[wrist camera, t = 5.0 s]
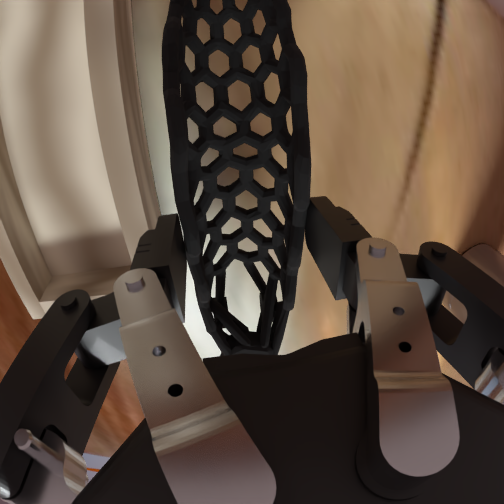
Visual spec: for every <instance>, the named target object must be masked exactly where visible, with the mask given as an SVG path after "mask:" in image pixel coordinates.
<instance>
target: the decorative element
mask: <svg viewBox="0 0 504 504" xmlns="http://www.w3.org/2000/svg"><path fill="white" fill-rule="evenodd" d="M222 4H223V10H222V11H220V12H219V13H218V14H216V13H215V12H214V11H213V10H212V9H211V8H210V0H197V6H196V8H194V6H193V3H192V0H170V5H169V11H168V16H167V21H166V23H165V27H164V32H163V41H162V67H163V95H164V101H165V109H166V117H167V125H168V133H169V140H170V163H171V173H172V181H173V189H174V196H175V203H176V207H177V211H178V214H179V218H180V222H181V225H182V229H183V234H184V245H185V250H186V257H187V262H188V265H189V268H190V271H191V274H192V277H193V280H194V284H195V291H196V297H197V301H198V305H199V309H200V312H201V315H202V318H203V321H204V324H205V326H206V330H207V332H208V333H209V334H210V335H211V336H212V337H213V339H214V341H215V342H216V344H217V346H218V347H219V349H220V350H221V355H220V356H227V355H235V354H242V353H243V354H263V355H278V352H279V349H280V346H281V343H282V340H283V336H284V332H285V328H286V324H287V319H288V315H289V311H290V310H292V309H293V308H294V303H295V295H296V285H297V275H298V268H299V267H300V264H301V257H302V250H303V242H304V233H305V222H306V216H307V208H308V206H309V204H310V183H311V152H310V137H309V122H308V109H307V71H306V65H305V59H304V56H303V54H302V52H301V50H300V49H299V48H298V46H297V45H296V41H295V38H294V34H293V30H292V22H291V9H290V6H289V4H288V2H287V0H248V2H247V4H246V6H245V8H244V10H243V11H242V10H239V9H238V8H237V7H236V5H235V0H222ZM257 10H261V11H262V13H263V16H264V19H265V22H266V25H265V27H264V29H263V32H262V34H261V35H259V34H256V33H255V31H254V26H253V21H252V20H253V18H254V16H255V14H256V12H257ZM182 17H183V28H182V25H181V18H182ZM200 18H203V19H204V20H205V21H206V22H207V23H208V24H209V26H210V40H209V41H207V42H206V43H205V44H203V43H202V42H201V40H200V39H199V37H198V36H197V35H196V34H197V20H199V19H200ZM231 18H232V19H234V20H235V21H237V22H239V23H240V27H241V34H242V36H241V37H240V38H239V39H238V40H237V41H236V42H235V43H234V45H233V44H232V43H230V42H229V41H227V40H226V39H224V29H223V25H224V24H225V23H226V22H227V21H228V20H229V19H231ZM277 33H278V35H279V39H280V43H281V47H282V51H281V54H280V58H279V61H278V60H276V59H275V54H274V50H273V43H274V41H275V38H276V36H277ZM186 45H187V46H188V47H189V48H190V50H191V51H192V52H193V53H194V54H195V70H194V71H192V72H190V70H189V68H188V67H187V65H186V63H185V46H186ZM249 45H253V46H255V47H257V48H259V52H260V56H261V61H262V62H261V64H260V65H259V66H258V68H257V69H256V70H255V72H254V73H252V72H250V71H249V70H247V69H245V68H243V60H242V54H243V52H244V51H245V50H246V49H247V48H248V46H249ZM216 50H220V51H222V52H223V53H225V54H226V55H227V56H228V57H229V69H230V70H228V71H227V72H226V73H225V74H223V75H222V76H221V77H219V76H217V75H216V74H214V73H213V72H212V71H210V69H209V55H210V54H212V53H213V52H214V51H216ZM271 72H273V73H275V74H277V75H278V79H279V85H280V90H281V91H280V94H279V96H278V99H277V101H276V103H275V104H273V103H271V102H269V101H268V100H267V99H266V97H265V90H264V84H263V83H264V82H265V80H266V79H267V78H268V76H269V75H270V73H271ZM236 80H240V81H242V82H244V83H246V84H248V85H249V87H250V92H251V100H252V101H251V102H250V103H249V104H248V105H247V106H246V107H245V108H244V109H243V111H240V110H238V109H237V108H235V107H234V106H232V105H230V104H229V98H228V87H229V86H230V85H231V84H233V83H234V82H235V81H236ZM200 82H204V83H206V84H207V85H209V86H210V87H211V88H213V92H214V106H213V107H212V108H210V109H209V110H208V111H207V112H205V111H204V110H203V109H202V108H201V107H200V106H199V105H198V104H197V100H196V91H195V86H196V85H198V84H199V83H200ZM180 84H181V96H180ZM290 106H291V112H292V125H293V132H292V136H291V135H290V134H289V132H288V129H287V122H286V114H287V112H288V110H289V108H290ZM259 113H263V114H264V115H266V116H268V117H270V118H271V125H272V131H271V132H269V133H268V134H266V135H264V136H261V135H259V134H257V133H255V132H253V131H251V126H250V122H251V121H252V120H253V119H254V118H255V117H256V116H257V115H258V114H259ZM222 116H223V117H225V118H227V119H228V120H230V121H232V122H233V123H235V124H236V129H237V132H235V133H233V134H231V135H229V136H228V137H226V138H224V137H221V136H218V135H215V134H214V130H213V124H215V123H216V122H217V121H218V120H219V119H220V118H221V117H222ZM188 117H190V118H191V119H192V120H193V121H194V122H195V123H196V124H197V125H198V129H199V138H198V139H197V140H196V141H195V142H194V143H193V144H192V143H191V142H190V141H189V140H188V128H187V119H188ZM243 143H246V144H248V145H250V146H252V147H254V148H256V149H257V153H258V154H257V155H253V156H250V157H247V158H245V157H242V156H239V155H235V154H233V149H234V148H236V147H238V146H239V145H241V144H243ZM277 144H279V145H280V146H281V148H282V149H283V150H284V151H285V152H286V154H287V168H285V169H284V168H283V167H282V166H281V165H280V164H279V163H278V162H277V161H276V160H275V159H274V158H273V156H272V152H271V148H273V147H274V146H276V145H277ZM209 147H210V148H212V149H215V150H218V151H219V156H218V157H217V158H216V159H215V160H214V161H212V162H211V163H210V164H209V165H208V166H201V157H202V156H203V154H204V153H205V152H206V151H207V149H208V148H209ZM227 167H231V168H234V169H237V170H239V178H238V179H237V180H236V181H235V182H233V183H232V184H230V185H228V186H225V187H224V186H221V185H218V184H217V176H218V175H219V174H220V173H221V172H223V171H224V170H225V169H226V168H227ZM261 167H264V168H265V169H266V170H267V171H268V172H269V173H270V174H271V175H272V176H273V177H274V178H275V182H274V188H270V189H267V188H265V187H263V186H262V185H260V184H259V183H258V182H257V181H256V180H255V179H254V178H253V170H254V169H258V168H261ZM199 181H203V187H204V188H203V191H202V194H201V196H200V198H199V200H198V202H197V203H196V204H195V206H194V197H195V193H196V190H197V187H198V184H199ZM288 183H289V186H290V191H291V195H292V200H293V204H292V201H291V199H290V196H289V194H288ZM245 190H247V191H249V192H250V193H251V194H253V195H254V196H255V197H256V198H257V204H258V207H255V208H252V209H249V210H246V209H244V208H241V207H239V206H237V205H236V200H235V197H236V196H238V195H239V194H241V193H242V192H243V191H245ZM214 198H218V199H222V201H223V208H222V209H221V210H220V211H219V213H218V214H217V215H216V216H215V217H214V219H213V220H211V221H207V219H206V213H207V211H208V209H209V207H210V205H211V203H212V201H213V199H214ZM271 201H277V202H278V205H279V207H280V209H281V211H282V213H283V216H284V218H285V225H282V223H281V222H280V221H279V220H278V218H277V217H276V216H275V215H274V214H273V212H272V211H271V210H270V205H271ZM231 217H233V218H236V219H238V220H240V221H241V227H240V228H239V229H237V230H236V231H234V232H233V233H231V234H222V231H221V228H222V227H223V225H224V224H225V223H226V222H227V221H228V220H229V219H230V218H231ZM261 218H262V220H263V221H264V222H265V223H266V225H267V226H268V227H269V228H270V230H271V231H272V238H271V237H265V236H264V235H262V234H261V233H260V232H259V231H257V230H256V229H255V228H254V227H253V221H254V220H258V219H261ZM206 234H210V241H209V243H208V246H207V248H206V250H205V252H204V255H203V247H204V243H205V239H206ZM246 237H247V238H249V239H250V240H251V241H253V242H254V243H255V244H256V245H258V250H257V251H252V252H246V251H243V250H241V249H238V242H240V241H241V240H243V239H245V238H246ZM284 239H285V244H284ZM220 245H227V251H226V252H225V253H224V255H223V256H222V257H221V258H220V260H219V261H218V262H217V263H216V264H214V265H213V259H214V257H215V255H216V253H217V251H218V249H219V247H220ZM285 245H286V247H285ZM268 249H274V251H275V254H276V256H277V258H278V261H279V263H280V265H281V269H280V268H279V267H278V266H277V264H276V263H275V261H274V260H273V259H272V257H271V256H270V254H269V253H268ZM202 255H203V256H202ZM234 259H237V260H240V261H242V262H243V264H244V266H245V268H246V269H247V271H248V273H249V274H250V276H251V277H252V279H253V281H254V282H255V284H256V286H257V287H258V289H259V290H260V292H261V293H260V308H261V313H260V317H259V322H258V326H257V332H251V331H249V329H248V327H247V326H245V325H244V324H243V323H242V322H240V321H239V320H238V319H237V318H235V317H234V316H233V315H232V314H231V313H230V312H229V311H228V306H227V299H226V297H224V295H225V278H226V268H227V267H228V266H229V264H230V263H231V262H232V261H233V260H234ZM257 261H261V262H262V263H263V265H264V266H265V267H266V269H267V270H268V272H269V277H268V282H267V285H266V284H265V282H264V280H263V278H262V277H261V275H260V273H259V271H258V270H257V268H256V266H255V265H254V263H253V262H257ZM214 276H216V298H212V297H211V289H212V283H213V278H214ZM278 280H279V281H280V284H281V290H282V297H283V301H281V302H277V297H276V290H277V283H278ZM212 313H213V314H214V318H213V315H212ZM272 322H273V324H272ZM271 324H272V327H271ZM222 328H226V329H227V330H228V331H229V332H230V333H231V335H228V334H227V333H225V332H224V331H223V330H222Z"/></svg>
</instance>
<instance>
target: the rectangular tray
mask: <svg viewBox="0 0 504 504" xmlns="http://www.w3.org/2000/svg"><path fill="white" fill-rule="evenodd" d="M159 216H161V212H160V208H159V203H158V198H157V193H156V188H155V183H154V178H153V173H152V167H151V162H150V156H149V151H148V145H147V139H146V133H145V126H144V120H143V113H142V106H141V99H140V91H139V83H138V75H137V66H136V57H135V47H134V36H133V24H132V9H131V0H0V258H1V260H2V262H3V264H4V266H5V268H6V270H7V273H8V275H9V277H10V278H11V280H12V282H13V284H14V286H15V288H16V290H17V292H18V294H19V296H20V297H21V299H22V301H23V303H24V304H25V306H26V308H27V310H28V311H29V313H30V315H31V316H32V318H33V319H40V318H43V316H44V315H45V314H46V312H47V311H48V309H49V308H50V307H51V305H52V304H53V303H54V301H55V300H56V299H57V298H58V297H59V296H61V295H62V294H64V293H66V292H68V291H71V290H76V289H81V290H85V291H86V292H87V293H88V294H89V296H90V298H91V300H93V299H96V298H99V297H102V296H105V295H108V294H110V293H112V292H114V290H113V286H114V283H115V281H116V280H117V279H118V278H119V277H120V276H121V275H122V274H124V273H126V272H128V271H130V267H131V264H132V261H133V258H134V254H135V251H136V248H137V247H138V246H137V245H138V242H139V239H140V237H141V236H142V235H143V234H144V233H145V232H146V231H147V230H153V229H155V227H156V224H157V220H158V217H159Z"/></svg>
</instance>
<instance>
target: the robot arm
mask: <svg viewBox="0 0 504 504" xmlns="http://www.w3.org/2000/svg"><path fill="white" fill-rule="evenodd" d="M305 239H306V244H307V247H308V249H309V251H310V253H311V255H312V257H313V259H314V260H315V262H316V264H317V266H318V268H319V270H320V272H321V273H322V275H323V277H324V279H325V281H326V283H327V285H328V287H329V288H330V290H331V292H332V294H333V296H334V298H335V300H340V299H346V298H347V300H348V306H347V334H346V335H342V336H337V337H333V338H328V339H323V340H320V341H318V342H316V343H313V344H311V345H309V346H306V347H304V348H302V349H299V350H297V351H294V352H292V353H290V354H287V355H263V354H243V353H242V354H235V355H227V356H219V357H211V358H203V361H202V359H201V358H200V356H199V354H198V352H197V350H196V348H195V346H194V345H193V343H192V341H191V339H190V337H189V335H188V333H187V331H186V329H185V327H184V325H183V323H185V294H186V272H187V257H186V250H185V245H184V240H183V235H182V230H181V225H180V220H179V216H178V214H177V213H176V214H170V215H163V216H159V217H158V220H157V224H156V227H155V229H153V230H147V231H146V232H145V233H144V234H143V235H142V236H141V237H140V239H139V242H138V245H137V246H138V247H137V248H136V251H135V254H134V258H133V261H132V264H131V267H130V271H128V272H126V273H124V274H122V275H121V276H120V277H119V278H118V279H117V280H116V281H115V283H114V286H113V290H114V292H112V293H110V294H108V295H105V296H102V297H99V298H96V299H93V300H91V298H90V296H89V294H88V293H87V292H86V291H85V290H81V289H76V290H71V291H68V292H66V293H64V294H62V295H61V296H59V297H58V298H57V299H56V300H55V301H54V303H53V304H52V305H51V307H50V308H49V309H48V311H47V312H46V314H45V315H44V316H43V318H42V319H41V321H40V322H39V323H38V325H37V326H36V328H35V329H34V331H33V332H32V334H31V335H30V337H29V338H28V340H27V341H26V343H25V344H24V346H23V347H22V349H21V350H20V352H19V353H18V355H17V357H16V358H15V360H14V361H13V363H12V365H11V366H10V368H9V369H8V371H7V373H6V374H5V376H4V378H3V379H2V381H1V383H0V499H2V500H3V501H5V502H8V503H9V504H504V256H503V255H502V254H501V253H500V252H499V251H498V250H496V251H495V250H494V249H493V248H491V247H490V246H489V245H487V244H480V245H477V246H475V247H472V248H471V249H470V250H468V251H467V252H466V253H464V254H463V255H462V256H461V255H460V254H459V253H457V252H456V251H454V250H453V249H451V248H450V247H448V246H446V245H444V244H442V243H438V242H425V243H423V244H422V245H421V246H420V250H419V254H418V255H411V254H399V252H398V249H397V247H396V246H395V245H394V244H392V243H391V242H389V241H387V240H384V239H381V238H372V236H371V235H370V234H369V233H368V232H367V231H366V230H365V229H364V227H363V226H362V225H360V223H359V222H358V221H357V220H356V219H355V218H354V216H353V215H352V214H351V213H350V212H349V211H347V210H345V209H343V208H341V207H335V206H334V205H333V204H332V202H331V201H330V200H329V199H328V198H327V197H326V196H321V197H310V204H309V206H308V208H307V216H306V222H305ZM442 303H443V305H444V306H445V307H446V308H445V307H444V306H443V305H442ZM436 350H437V351H438V352H439V353H440V354H441V355H442V356H443V357H444V358H445V359H446V360H447V361H448V362H449V363H450V364H451V365H452V366H453V367H454V368H455V369H456V370H457V372H458V373H459V374H460V375H461V376H462V377H463V378H464V379H465V380H466V381H467V382H468V383H469V384H470V385H471V386H472V387H473V388H474V389H475V390H474V389H472V388H470V387H468V386H466V385H464V384H462V383H460V382H458V381H456V380H454V379H452V378H450V377H449V376H447V375H445V374H443V373H441V369H440V364H439V359H438V355H437V351H436ZM74 352H75V354H76V355H77V357H78V358H77V360H76V362H75V364H74V366H73V368H72V369H71V371H70V373H69V375H68V377H67V379H66V381H65V378H64V372H65V368H66V366H67V364H68V362H69V360H70V358H71V357H72V355H73V353H74ZM124 359H127V362H128V365H129V369H130V372H131V376H132V379H133V382H134V385H135V389H136V392H137V395H138V398H139V401H140V404H141V407H142V410H143V413H144V415H145V418H144V420H143V421H142V422H141V423H140V424H139V425H138V427H137V428H136V429H135V430H134V431H133V432H132V434H131V435H130V436H129V437H128V438H127V439H126V441H125V442H124V443H123V444H122V445H121V446H120V448H119V449H118V450H117V451H116V452H115V453H114V454H113V456H112V457H111V458H110V459H109V460H108V461H107V463H106V464H105V465H104V466H103V467H102V468H101V469H100V470H99V472H98V473H97V474H96V475H95V476H94V477H93V478H92V480H91V481H90V482H89V483H88V476H87V474H86V472H87V468H86V463H85V461H84V459H83V457H82V455H83V452H84V450H85V447H86V444H87V442H88V439H89V437H90V434H91V431H92V429H93V426H94V424H95V421H96V419H97V416H98V414H99V411H100V409H101V407H102V404H103V402H104V399H105V397H106V395H107V392H108V390H109V388H110V385H111V383H112V381H113V378H114V376H115V374H116V372H117V369H118V367H119V364H120V361H121V360H124Z"/></svg>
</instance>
